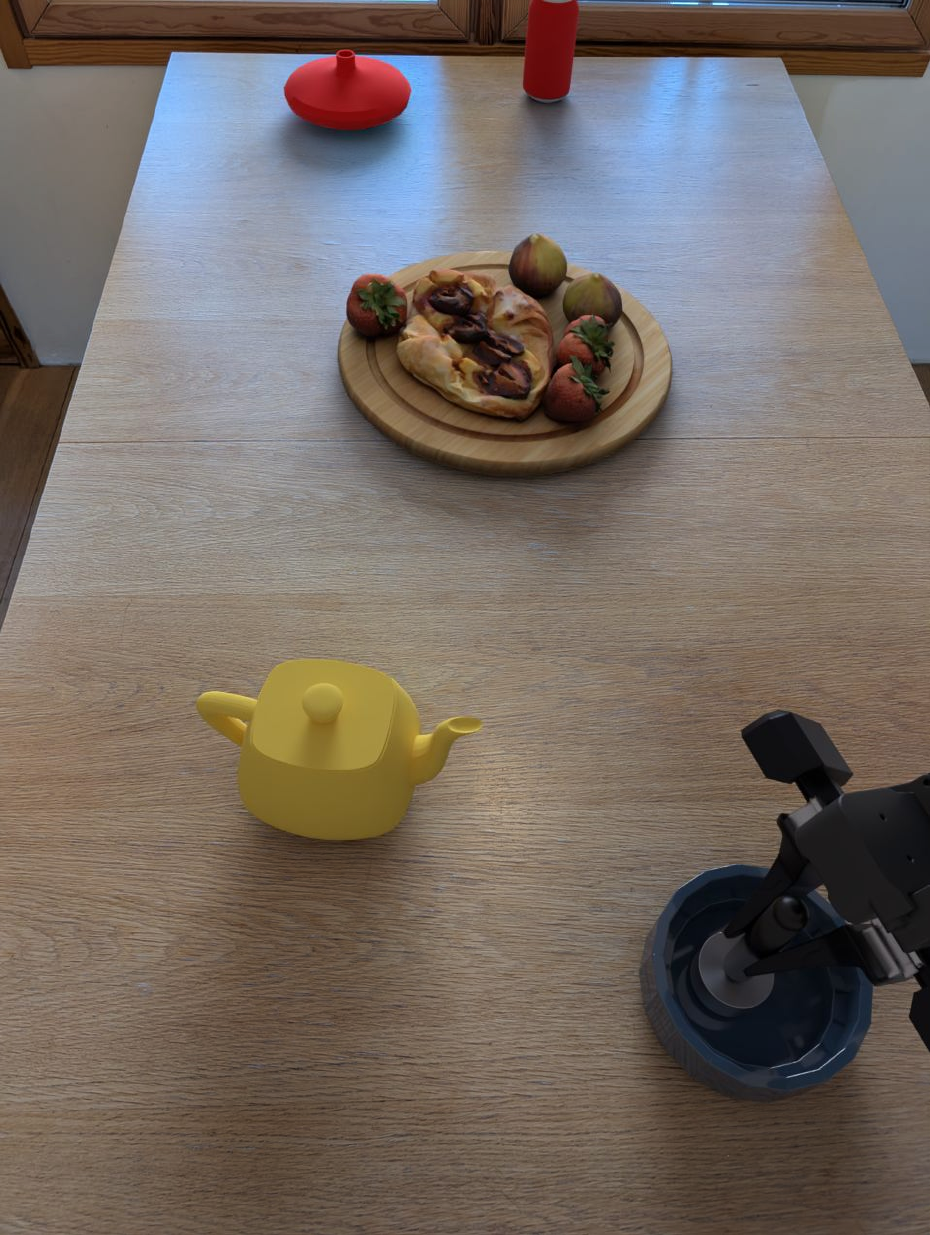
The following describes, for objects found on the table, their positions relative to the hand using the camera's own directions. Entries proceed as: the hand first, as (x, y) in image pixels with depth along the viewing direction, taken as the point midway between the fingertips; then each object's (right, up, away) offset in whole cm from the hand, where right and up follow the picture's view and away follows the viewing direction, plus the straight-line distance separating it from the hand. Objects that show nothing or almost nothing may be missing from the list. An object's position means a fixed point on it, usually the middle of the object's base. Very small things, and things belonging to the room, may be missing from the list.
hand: (737, 954), depth 51 cm
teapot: (-23, +7, +14) cm, 28 cm away
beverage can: (-4, +87, +72) cm, 113 cm away
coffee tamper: (+1, -4, +6) cm, 7 cm away
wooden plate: (-11, +43, +40) cm, 60 cm away
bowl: (+2, -5, +7) cm, 8 cm away
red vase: (-29, +82, +68) cm, 110 cm away
